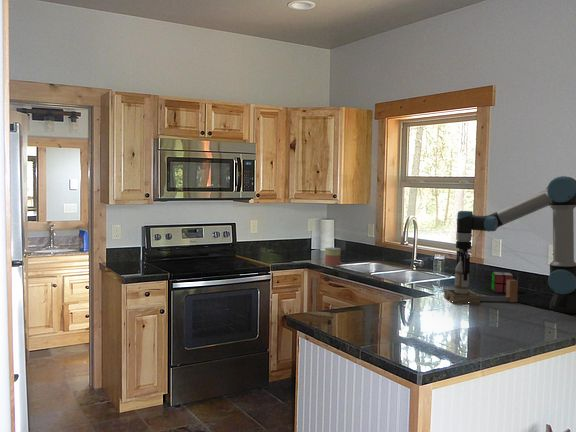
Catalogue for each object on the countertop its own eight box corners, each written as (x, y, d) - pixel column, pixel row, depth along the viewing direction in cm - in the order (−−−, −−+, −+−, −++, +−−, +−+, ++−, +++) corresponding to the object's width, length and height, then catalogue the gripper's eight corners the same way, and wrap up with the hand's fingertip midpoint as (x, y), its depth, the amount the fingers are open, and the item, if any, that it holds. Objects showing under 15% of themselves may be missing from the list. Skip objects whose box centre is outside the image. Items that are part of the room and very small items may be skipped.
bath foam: (451, 291, 287) (453, 253, 286) (463, 291, 289) (464, 253, 288) (459, 294, 281) (461, 255, 279) (471, 294, 283) (472, 255, 281)
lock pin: (517, 302, 284) (518, 281, 283) (475, 301, 283) (475, 280, 282) (513, 300, 288) (514, 279, 287) (472, 299, 288) (472, 278, 287)
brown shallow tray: (479, 304, 278) (480, 295, 277) (453, 304, 277) (453, 295, 277) (469, 298, 293) (469, 289, 293) (443, 297, 293) (444, 289, 293)
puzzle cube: (512, 293, 309) (513, 275, 308) (494, 292, 311) (494, 274, 310) (509, 289, 319) (510, 272, 318) (491, 288, 321) (492, 271, 320)
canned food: (343, 264, 403) (343, 248, 402) (335, 266, 393) (336, 249, 392) (329, 263, 409) (329, 247, 408) (321, 265, 399) (322, 248, 398)
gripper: (478, 243, 273) (475, 289, 275) (464, 239, 293) (462, 281, 295) (463, 243, 273) (460, 288, 275) (450, 238, 293) (448, 281, 295)
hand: (461, 285), depth 285 cm, fingers closed on bath foam, 7 cm apart
